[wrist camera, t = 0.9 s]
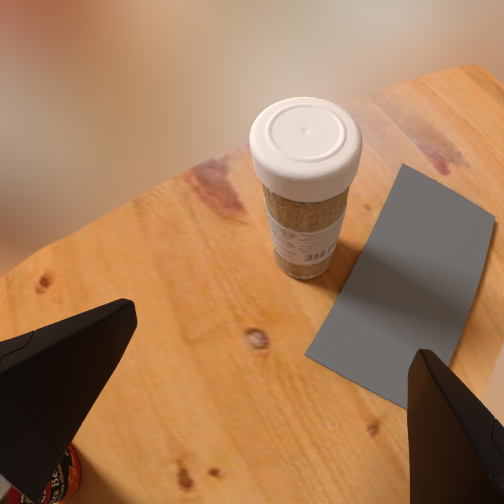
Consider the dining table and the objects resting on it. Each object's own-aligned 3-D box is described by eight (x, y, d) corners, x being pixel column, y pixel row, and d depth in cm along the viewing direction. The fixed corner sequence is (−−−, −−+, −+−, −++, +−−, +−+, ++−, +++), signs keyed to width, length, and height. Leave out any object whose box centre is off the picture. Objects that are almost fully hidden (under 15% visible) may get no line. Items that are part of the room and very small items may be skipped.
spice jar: (323, 219, 25) (339, 85, 13) (340, 273, 23) (383, 164, 11) (267, 232, 25) (238, 104, 13) (280, 288, 23) (261, 189, 11)
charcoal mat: (419, 415, 19) (422, 416, 18) (304, 354, 22) (304, 354, 21) (492, 219, 23) (495, 216, 22) (401, 167, 26) (402, 163, 25)
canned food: (78, 511, 18) (-4, 543, 8) (20, 466, 20) (-62, 475, 10) (90, 448, 20) (-6, 467, 10) (29, 405, 22) (-62, 399, 12)
